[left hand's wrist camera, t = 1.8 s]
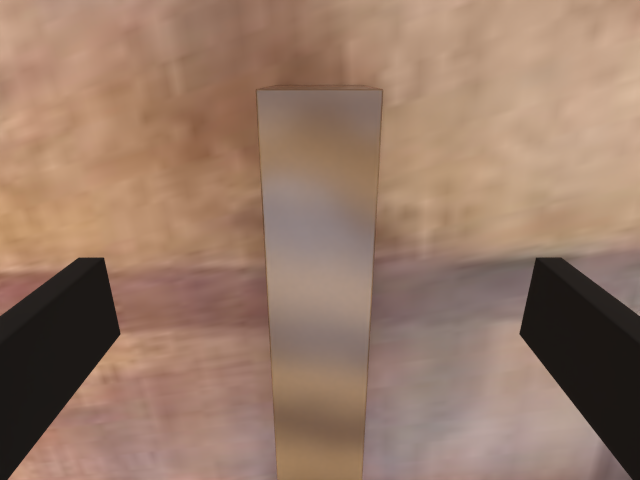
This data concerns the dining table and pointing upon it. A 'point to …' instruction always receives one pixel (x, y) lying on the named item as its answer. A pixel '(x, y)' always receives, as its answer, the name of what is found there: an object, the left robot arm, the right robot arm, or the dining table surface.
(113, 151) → the dining table surface
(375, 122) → the bar
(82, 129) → the dining table surface
